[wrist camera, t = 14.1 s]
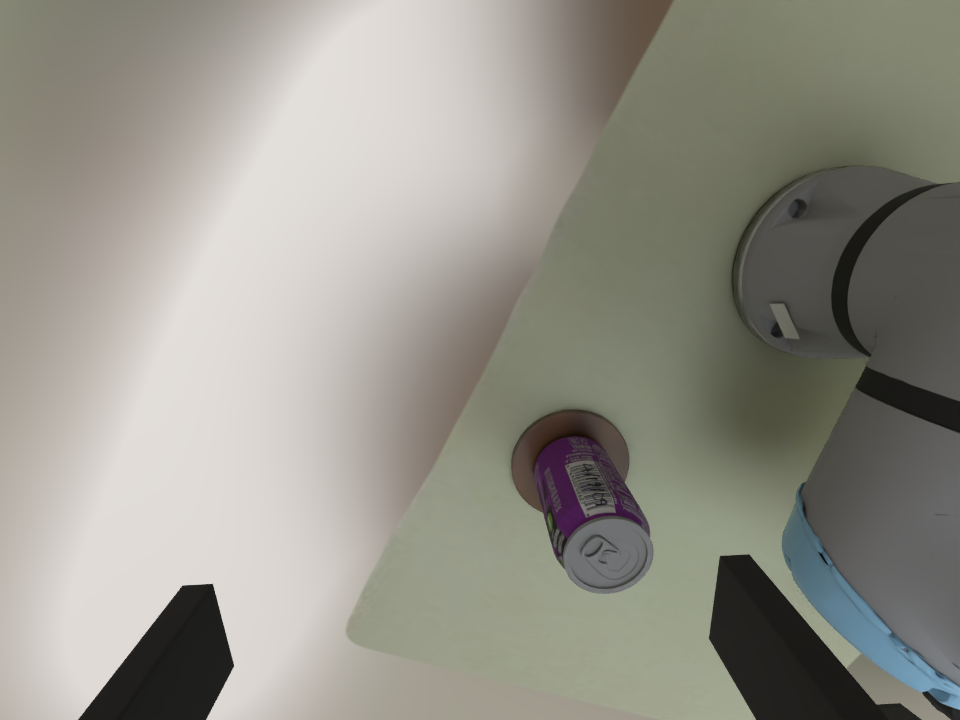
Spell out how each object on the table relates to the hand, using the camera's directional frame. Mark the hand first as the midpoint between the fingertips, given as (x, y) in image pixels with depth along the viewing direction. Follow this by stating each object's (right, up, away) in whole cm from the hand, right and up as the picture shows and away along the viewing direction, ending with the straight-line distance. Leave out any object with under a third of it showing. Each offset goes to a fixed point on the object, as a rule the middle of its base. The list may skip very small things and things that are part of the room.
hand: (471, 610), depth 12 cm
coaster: (+9, -3, +31) cm, 33 cm away
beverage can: (+9, -3, +31) cm, 32 cm away
